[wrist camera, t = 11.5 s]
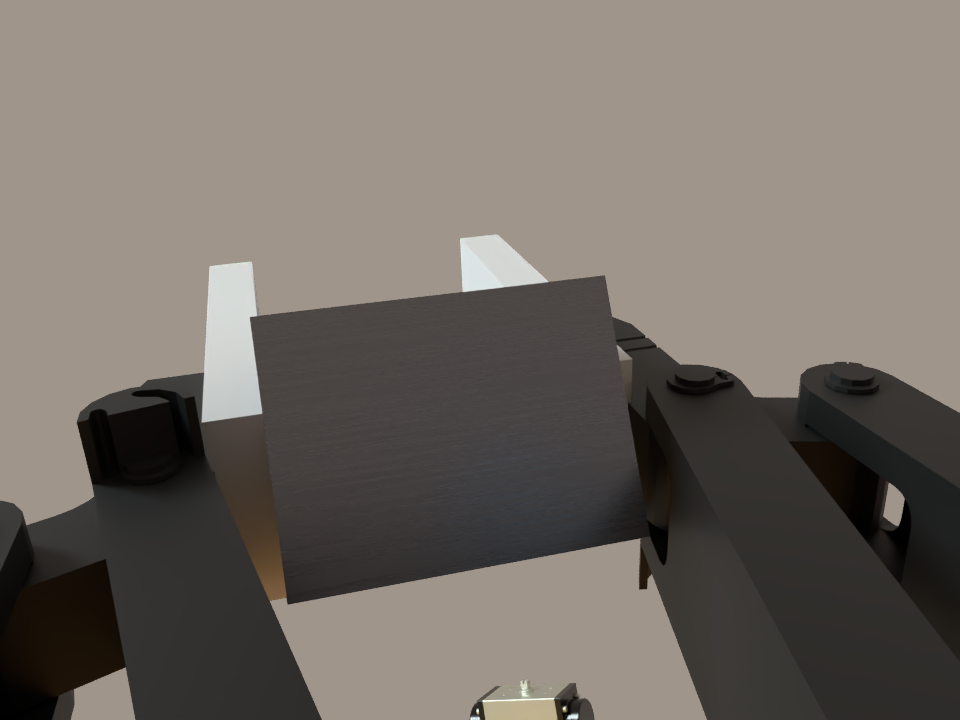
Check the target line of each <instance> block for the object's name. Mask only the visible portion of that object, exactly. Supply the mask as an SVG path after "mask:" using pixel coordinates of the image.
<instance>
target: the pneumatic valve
mask: <svg viewBox="0 0 960 720" xmlns="http://www.w3.org/2000/svg"><path fill="white" fill-rule="evenodd" d="M520 684H521V685H519V686H497V687H494V688H493V689H492V690H490V691H489V692H488V693H487V694H485V695H484V696H483V697H481V698H480V699H479V700H478V701H477V703H476V704H475V705H474V706H473V708H472V711H471V714H470V720H594V713H593V709H592V706H591V704H590V702H589V701H588V700H587V699H585V698H582V699H580V694H579V693H577V689H576V684H575V683H569V684H545V683H544V684H541V685H534V684H530V681H529V679H528V680H526V681H525V680H521V681H520Z"/></svg>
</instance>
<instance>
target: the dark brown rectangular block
mask: <svg viewBox="0 0 960 720" xmlns="http://www.w3.org/2000/svg"><path fill="white" fill-rule="evenodd" d="M250 323H251V331H252V339H253V346H254V354H255V361H256V369H257V376H258V384H259V392H260V399H261V407H262V414H263V422H264V429H265V437H266V445H267V452H268V460H269V467H270V475H271V482H272V490H273V498H274V505H275V513H276V520H277V528H278V535H279V543H280V551H281V558H282V566H283V573H284V581H285V588H286V596H287V603H288V604H293V603H299V602H304V601H309V600H314V599H320V598H325V597H330V596H336V595H341V594H346V593H352V592H357V591H362V590H368V589H373V588H378V587H383V586H389V585H394V584H400V583H405V582H410V581H415V580H421V579H426V578H431V577H437V576H442V575H448V574H453V573H458V572H463V571H468V570H474V569H479V568H484V567H490V566H495V565H500V564H506V563H511V562H516V561H522V560H527V559H532V558H538V557H543V556H548V555H554V554H559V553H565V552H569V551H575V550H580V549H586V548H591V547H596V546H602V545H607V544H612V543H617V542H622V541H628V540H634V539H639V538H644V537H650V532H649V527H648V521H647V515H646V509H645V504H644V498H643V492H642V486H641V481H640V475H639V469H638V463H637V458H636V452H635V446H634V440H633V435H632V429H631V423H630V417H629V412H628V406H627V400H626V394H625V389H624V383H623V377H622V371H621V366H620V360H619V354H618V348H617V343H616V337H615V331H614V325H613V320H612V314H611V308H610V303H609V297H608V292H607V285H606V280H605V276H596V277H588V278H579V279H572V280H562V281H555V282H545V283H536V284H528V285H519V286H511V287H502V288H494V289H485V290H477V291H468V292H460V293H451V294H443V295H435V296H425V297H417V298H409V299H400V300H391V301H382V302H374V303H366V304H357V305H348V306H341V307H331V308H322V309H315V310H305V311H297V312H289V313H280V314H271V315H263V316H254V317H250Z"/></svg>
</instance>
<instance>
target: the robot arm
mask: <svg viewBox="0 0 960 720" xmlns="http://www.w3.org/2000/svg"><path fill="white" fill-rule="evenodd" d="M460 244H461V265H462V285H463V292H468V291H477V290H485V289H494V288H502V287H511V286H519V285H528V284H536V283H545V282H548V281H547V280H546V279H545V278H544V277H543V276H542V275H541V274H540V273H539V272H537V271H536V270H535V269H534V268H533V267H532V266H531V265H530V264H529V263H528V262H527V261H526V260H524V259H523V258H522V257H521V256H520V255H519V254H518V253H517V252H516V251H515V250H514V249H512V248H511V247H510V246H509V245H508V244H507V243H506V242H505V241H504V240H503V239H502V238H501V237H499V236H498V235H488V236H480V237H470V238H461V239H460ZM254 316H260V315H259V308H258V301H257V295H256V288H255V281H254V275H253V268H252V262H244V263H235V264H225V265H216V266H210V270H209V289H208V309H207V328H206V347H205V367H204V373H198V374H191V375H183V376H176V377H168V378H161V379H153V380H147V381H146V382H145V383H144V384H143V385H142V386H141V387H135V388H129V389H126V390H122V391H119V392H116V393H112V394H109V395H107V396H105V397H103V398H100V399H98V400H96V401H94V402H92V403H91V404H89V405H88V406H87V407H86V408H85V409H84V410H82V411H81V412H80V414H79V417H78V420H77V425H78V429H79V433H80V437H81V441H82V445H83V449H84V453H85V457H86V461H87V465H88V469H89V473H90V477H91V481H92V486H93V491H94V497H93V498H92V499H90V500H89V501H88V502H86V503H84V504H82V505H80V506H78V507H77V508H74V509H72V510H70V511H67V512H65V513H62V514H59V515H57V516H54V517H51V518H48V519H45V520H42V521H39V522H36V523H33V524H30V525H26V523H25V519H24V516H23V513H22V511H21V510H20V509H19V508H18V507H16V505H15V504H13V503H9V502H4V501H0V720H71V716H72V712H73V708H74V689H76V688H78V687H80V686H83V685H85V684H87V683H90V682H92V681H94V680H97V679H99V678H101V677H104V676H106V675H109V674H111V673H113V672H115V671H118V670H120V669H123V668H125V667H126V671H127V676H128V681H129V686H130V692H131V697H132V703H133V709H134V714H135V719H136V720H322V719H321V717H320V715H319V713H318V710H317V708H316V706H315V703H314V701H313V699H312V697H311V694H310V692H309V690H308V687H307V685H306V683H305V681H304V678H303V676H302V674H301V671H300V669H299V667H298V665H297V662H296V660H295V658H294V656H293V653H292V651H291V649H290V647H289V644H288V642H287V640H286V638H285V635H284V633H283V631H282V628H281V626H280V624H279V621H278V619H277V617H276V615H275V612H274V610H273V608H272V606H271V603H270V601H272V600H277V599H282V598H287V596H286V588H285V581H284V573H283V566H282V558H281V551H280V543H279V535H278V528H277V520H276V513H275V505H274V498H273V490H272V482H271V475H270V467H269V460H268V452H267V445H266V437H265V429H264V422H263V414H262V407H261V399H260V392H259V384H258V376H257V369H256V361H255V354H254V346H253V339H252V331H251V323H250V317H254ZM612 320H613V325H614V331H615V337H616V343H617V348H618V354H619V360H620V366H621V371H622V377H623V383H624V389H625V394H626V400H627V406H628V412H629V417H630V423H631V429H632V435H633V440H634V446H635V452H636V458H637V463H638V469H639V475H640V481H641V486H642V492H643V498H644V504H645V509H646V515H647V521H648V527H649V532H650V537H644V538H641V540H640V542H641V543H640V566H639V589H647V579H648V578H649V576H650V575H651V574H652V575H653V578H654V580H655V583H656V585H657V588H658V591H659V594H660V596H661V599H662V601H663V604H664V607H665V610H666V612H667V615H668V617H669V620H670V623H671V625H672V628H673V631H674V633H675V636H676V638H677V641H678V644H679V647H680V649H681V652H682V654H683V657H684V660H685V662H686V665H687V667H688V670H689V673H690V676H691V678H692V681H693V684H694V686H695V689H696V691H697V694H698V697H699V699H700V702H701V704H702V707H703V710H704V712H705V715H706V718H707V720H960V413H958V412H957V411H955V410H953V409H951V408H950V407H948V406H946V405H944V404H942V403H941V402H939V401H937V400H935V399H933V398H932V397H930V396H928V395H926V394H924V393H922V392H920V391H919V390H917V389H915V388H913V387H912V386H910V385H908V384H906V383H904V382H903V381H901V380H899V379H897V378H895V377H893V376H892V375H889V374H887V373H884V372H882V371H880V370H877V369H874V368H869V367H864V366H863V365H862V364H859V363H851V362H849V364H847V363H846V362H835V363H834V364H825V365H819V366H815V367H812V368H809V369H807V370H806V371H805V372H804V373H803V374H801V378H800V386H799V396H798V398H760V397H753V395H752V394H751V393H750V391H749V390H748V389H747V388H746V386H745V385H744V384H743V382H742V381H741V380H740V379H738V378H737V377H736V376H734V375H733V374H731V373H729V372H727V371H725V370H721V369H719V368H714V367H709V366H703V365H680V364H678V363H677V362H676V361H675V360H674V359H672V358H671V357H670V356H669V355H668V354H666V353H665V352H664V351H663V350H662V349H661V348H657V347H656V344H655V343H653V342H652V341H651V340H650V339H649V338H645V335H644V334H643V333H641V332H640V331H639V330H638V329H637V328H635V327H634V326H633V325H632V324H630V323H627V322H624V321H622V320H619V319H616V318H613V317H612ZM888 483H891V484H892V485H894V486H895V487H896V488H897V489H898V490H899V491H900V492H901V493H902V494H903V496H904V498H905V501H904V507H903V513H902V518H901V521H900V524H899V526H895V525H894V524H892V523H891V522H890V521H888V520H887V519H886V518H884V517H883V513H884V507H885V501H886V496H887V490H888Z"/></svg>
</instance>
